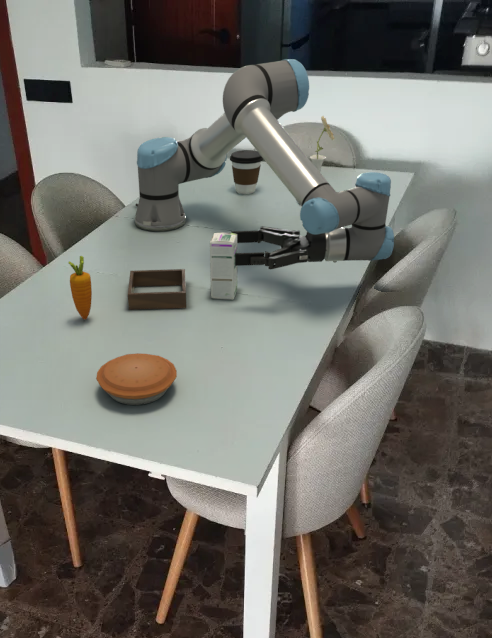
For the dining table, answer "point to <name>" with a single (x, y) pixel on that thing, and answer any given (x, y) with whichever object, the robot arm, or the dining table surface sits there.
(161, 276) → the wooden frame
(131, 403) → the pie
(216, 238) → the syrup box
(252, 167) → the coffee cup
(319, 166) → the flower in vase
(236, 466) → the dining table surface
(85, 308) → the carrot
